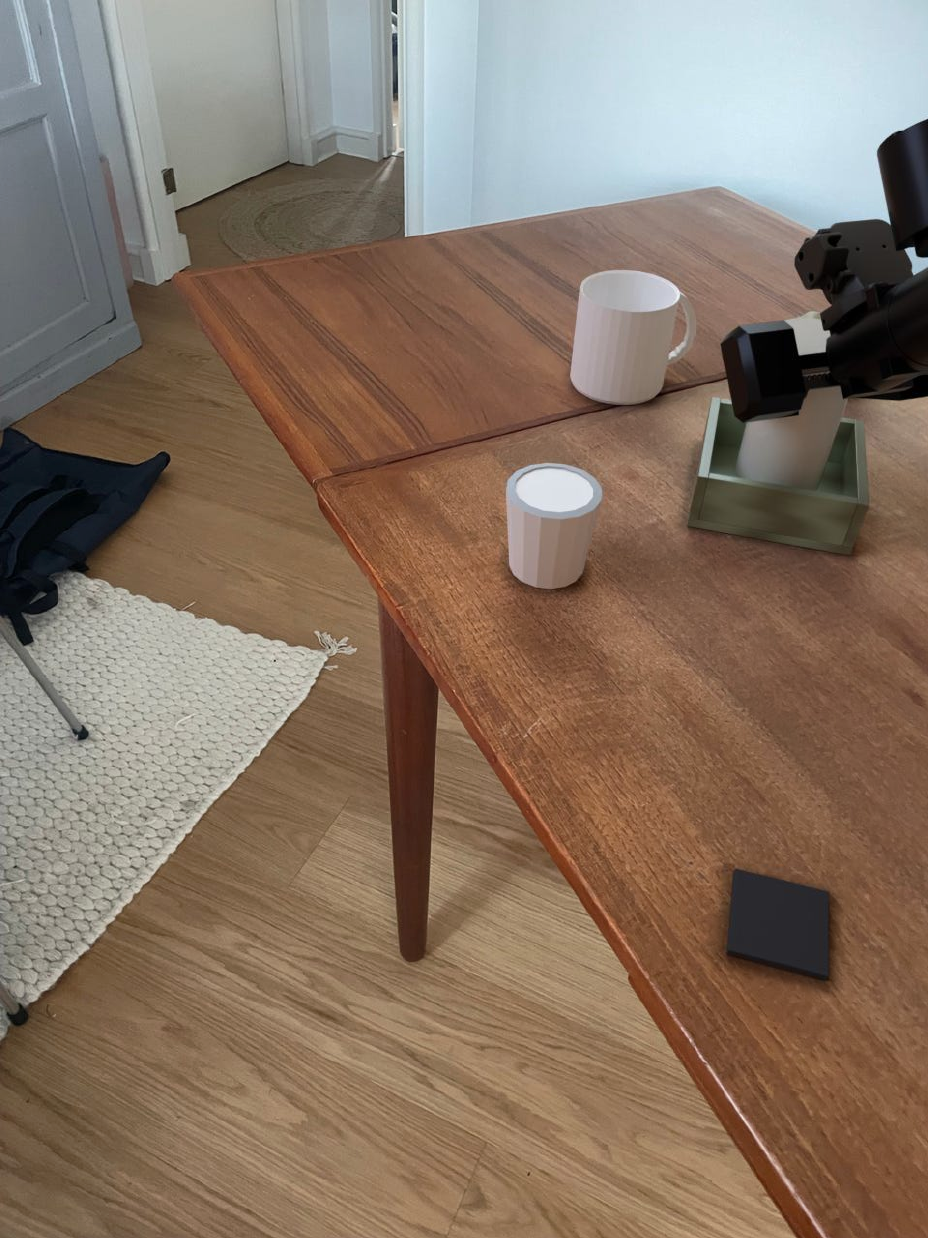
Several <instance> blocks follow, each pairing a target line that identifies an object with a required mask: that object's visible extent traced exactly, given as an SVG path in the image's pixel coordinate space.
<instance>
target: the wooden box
mask: <svg viewBox="0 0 928 1238" xmlns="http://www.w3.org/2000/svg"><path fill="white" fill-rule="evenodd" d="M745 426H746V423H742V422H741V421H740V420H738V419H737V418H736V417H735V416H734V412H733V407H732V402H731V399H728V398H722V397H716V396H715V397H714V396H712V397H711V399H710V403H709V408H708V413H707V418H706V420H705V425H704V430H703V433H702V439H701V442H700V443H701V444H700V449H699V454H698V460H697V465H696V471H695V477H694V482H693V487H692V493H691V498H690V504H689V509H688V515H687V521H686V526H687V527H691V528H695V529H703V530H707V531H712V532H719V533H723V534H724V533H725V534H727V535H728V534H729V535H734V536H740V537H745V538H751V539H755V540H756V539H757V540H762V541H766V542H767V541H768V542H773V543H778V544H783V545H789V546H794V547H801V548H806V549H811V550H817V551H822V552H827V553H834V554H838V555H843V556H851V554H852V552H853V548H854V546H855V544H856V541H857V539H858V536H859V533H860V531H861V528H862V526H863V523H864V521H865V519H866V516H867V513H868V511H869V508H870V496H869V477H868V461H867V459H868V458H867V443H866V428H865V427H866V426H865V420H863V419H856V418H855V419H854V418H849V417H844V416H842V419H841V422H840V425H839V428H838V431H837V434H836V437H835V440H834V443H833V446H832V449H831V452H830V455H829V458H828V461H827V464H826V468H825V471H824V474H823V477H822V480H821V483H820V485H819V488H818V489H817V490H816V491H813V490H807V489H801V488H796V487H790V486H784V485H778V484H772V483H766V482H761V481H755V480H749V479H743V478H737V476H736V473H735V466H736V462H737V458H738V454H739V450H740V446H741V442H742V438H743V434H744V430H745Z"/></svg>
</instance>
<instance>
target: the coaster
mask: <svg viewBox="0 0 928 1238" xmlns="http://www.w3.org/2000/svg"><path fill="white" fill-rule="evenodd" d="M829 893H830V892H829V891H828V890H824V889H820V888H816V887H813V886H808V885H804V884H800V883H796V882H791V881H788V880H784V879H780V878H776V877H772V876H768V875H764V874H760V873H756V872H751V871H748V870H743V869H740V868H736V867H735V868H734V870H733V871H732V880H731V891H730V905H729V915H728V929H727V940H726V951H725V952H726V955H727V956H731V957H735V958H737V959H743V960H747V961H751V962H754V963H757V964H762V965H765V966H769V967H772V968H776V969H780V970H784V971H787V972H792V973H795V974H799V975H803V976H807V977H810V978H815V979H818V980H822V981H827V980H828V978H829V977H830V908H829V907H830V902H829V901H830V898H829V897H830V894H829Z"/></svg>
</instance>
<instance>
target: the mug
mask: <svg viewBox="0 0 928 1238" xmlns="http://www.w3.org/2000/svg"><path fill="white" fill-rule="evenodd" d="M579 285H580V286H579V293H578V301H577V302H578V303H577V311H576V319H575V320H576V321H575V330H574V339H573V347H572V357H571V367H570V381H571V383H572V385H573V387H574V388H575V390H577V392H579V393H580V394H581V395H583V396H584V397H586V398H588V399H591V400H593V401H596V402H598V403H603V404H608V405H615V406H631V405H638V404H642V403H645V402H649V401H650V400H652V399H654V398H655V397H656V396H657V395H658V394H659V393H660V392H661V391H662V389H663V388H664V383H665V377H666V372H667V367H668V365H674V364H675V363H676V362H678V361H680V360H681V359H683V358H684V356H686V355H687V353H688V352H690V351H691V349H692V348H693V346H694V341H695V339H696V335H697V319H696V318H697V316H696V313H695V310H694V307H693V306H692V304H691V302H690V300H689V298H688V297H687V295H686V294H684V293H683V292H681V291H680V290H679V288H678V287H677V286H676V285H675V284H674V283H672V282H671V281H670V280H668V279H666V278H664V277H661V276H659V275H657V274H653V273H649V272H646V271H639V270H632V269H612V270H603V271H599V272H596V273H593V274H590V275H588V276H587V277H584V279H583V280H582V281H581V283H580V284H579ZM679 303H680V305H681V307H682V309H683V311H684V315H685V322H686V323H685V324H686V332H685V333H684V338H683V341H682V342H680V344H679V345H678V346H675V349H673V350H671V346H672V340H673V335H674V330H675V324H676V319H677V313H678V308H679ZM670 350H671V351H670Z"/></svg>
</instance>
